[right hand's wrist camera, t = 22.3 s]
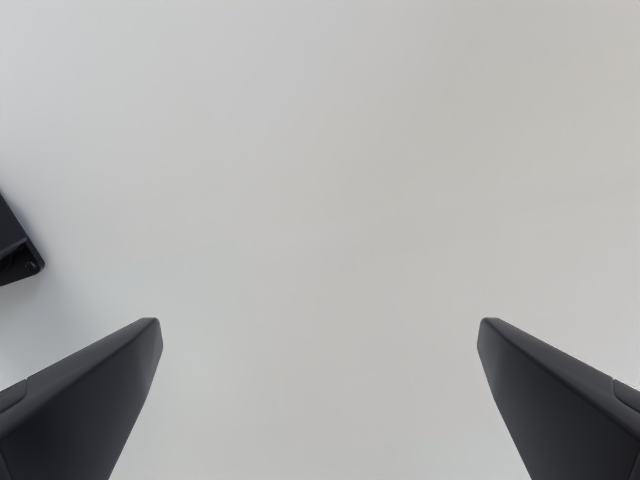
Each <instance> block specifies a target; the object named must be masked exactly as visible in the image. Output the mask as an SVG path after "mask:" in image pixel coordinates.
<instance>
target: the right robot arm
mask: <svg viewBox="0 0 640 480" xmlns="http://www.w3.org/2000/svg"><path fill="white" fill-rule="evenodd" d="M31 262H32V263H33V264H34V265H35V267H33V266H32V265H31ZM44 267H45V263H44V261H43V259H42V257H41V256H40V254H39V253H38V251H37V250H36V248H35V247H34V245H33V244H32V242H31V240H30V239H29V237H28V236H27V234H26V233H25V231H24V230H23V228H22V227H21V225H20V223H19V222H18V220H17V219H16V217H15V216H14V214H13V213H12V211H11V209H10V208H9V206H8V205H7V203H6V202H5V200H4V199H3V197H2V196H1V194H0V286H3V285H6V284H9V283H12V282H15V281H18V280H21V279H24V278H27V277H30V276H33V275H36V274H37V273H39V272H40V271H42V270H43V269H44ZM162 350H163V340H162V334H161V328H160V323H159V320H158V319H157V318H141V319H139V320H137V321H135V322H133V323H131V324H129V325H128V326H126V327H124V328H122V329H120V330H118V331H116V332H114V333H112V334H110V335H108V336H106V337H105V338H103V339H101V340H99V341H97V342H95V343H93V344H91V345H89V346H87V347H85V348H83V349H82V350H80V351H78V352H76V353H74V354H72V355H70V356H68V357H66V358H64V359H62V360H61V361H59V362H57V363H55V364H53V365H51V366H49V367H47V368H45V369H43V370H41V371H39V372H38V373H36V374H34V375H32V376H30V377H28V378H27V380H26V379H24V380H22V381H20V382H18V383H16V384H14V385H13V386H11V387H9V388H7V389H5V390H3V391H1V392H0V480H108V479H109V477H110V475H111V473H112V471H113V469H114V467H115V464H116V462H117V460H118V458H119V456H120V454H121V452H122V450H123V447H124V445H125V443H126V441H127V439H128V437H129V435H130V432H131V430H132V428H133V426H134V424H135V422H136V420H137V418H138V415H139V413H140V411H141V409H142V407H143V405H144V402H145V400H146V398H147V395H148V392H149V389H150V386H151V383H152V380H153V377H154V374H155V371H156V368H157V365H158V362H159V359H160V356H161V353H162ZM477 350H478V353H479V356H480V359H481V362H482V365H483V368H484V371H485V374H486V377H487V380H488V383H489V386H490V389H491V392H492V395H493V398H494V400H495V402H496V405H497V407H498V409H499V411H500V413H501V415H502V418H503V420H504V422H505V424H506V426H507V428H508V430H509V432H510V435H511V437H512V439H513V441H514V443H515V445H516V447H517V450H518V452H519V454H520V456H521V458H522V460H523V462H524V464H525V467H526V469H527V471H528V473H529V475H530V477H531V479H532V480H640V392H639V391H637V390H635V389H633V388H631V387H629V386H627V385H626V384H624V383H622V382H620V381H618V380H616V379H614V380H613V378H612V377H610V376H608V375H606V374H604V373H602V372H601V371H599V370H597V369H595V368H593V367H591V366H589V365H587V364H585V363H583V362H581V361H579V360H578V359H576V358H574V357H572V356H570V355H568V354H566V353H564V352H562V351H560V350H558V349H557V348H555V347H553V346H551V345H549V344H547V343H545V342H543V341H541V340H539V339H537V338H535V337H534V336H532V335H530V334H528V333H526V332H524V331H522V330H520V329H518V328H516V327H514V326H512V325H511V324H509V323H507V322H505V321H503V320H501V319H499V318H483V319H482V320H481V323H480V328H479V334H478V340H477Z"/></svg>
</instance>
